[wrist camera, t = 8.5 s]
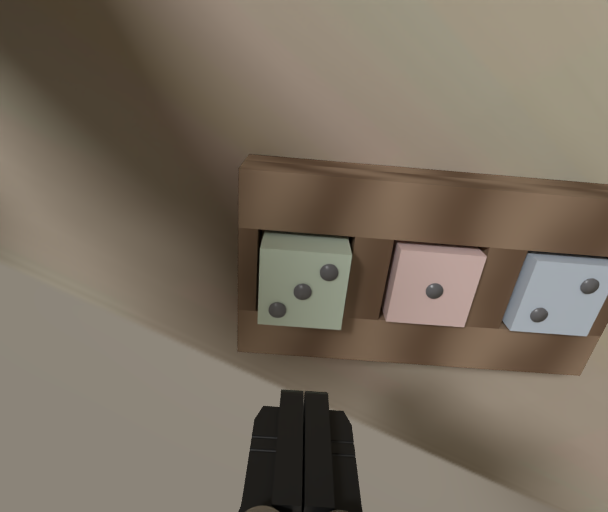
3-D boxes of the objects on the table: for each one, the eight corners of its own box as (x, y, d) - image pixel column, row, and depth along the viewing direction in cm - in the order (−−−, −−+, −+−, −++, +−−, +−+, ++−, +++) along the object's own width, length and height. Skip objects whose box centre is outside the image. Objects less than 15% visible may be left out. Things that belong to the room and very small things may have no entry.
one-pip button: (378, 298, 23) (386, 322, 21) (391, 231, 21) (401, 250, 19) (449, 303, 23) (464, 328, 21) (468, 238, 21) (487, 257, 19)
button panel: (246, 317, 26) (237, 351, 23) (248, 154, 21) (238, 168, 18) (547, 339, 27) (579, 375, 23) (617, 185, 22) (669, 204, 19)
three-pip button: (262, 299, 22) (257, 325, 20) (265, 229, 20) (259, 249, 18) (337, 304, 22) (340, 331, 20) (347, 235, 20) (352, 256, 18)
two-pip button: (491, 306, 23) (510, 331, 21) (514, 241, 22) (538, 261, 19) (561, 312, 24) (587, 337, 21) (590, 247, 22) (622, 268, 19)
